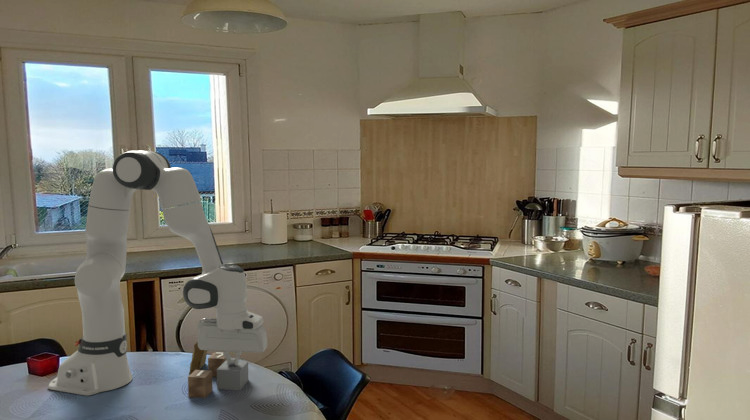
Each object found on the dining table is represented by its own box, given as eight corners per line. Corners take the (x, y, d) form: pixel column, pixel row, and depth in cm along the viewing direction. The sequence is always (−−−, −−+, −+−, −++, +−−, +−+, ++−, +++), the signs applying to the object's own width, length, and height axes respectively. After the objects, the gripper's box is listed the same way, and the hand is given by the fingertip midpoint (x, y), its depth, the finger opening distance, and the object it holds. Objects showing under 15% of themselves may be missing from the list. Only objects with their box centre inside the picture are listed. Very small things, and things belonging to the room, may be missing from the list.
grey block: (217, 389, 158) (216, 369, 158) (226, 379, 165) (225, 360, 164) (240, 390, 158) (240, 370, 157) (248, 380, 164) (248, 361, 164)
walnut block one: (188, 397, 153) (187, 376, 152) (196, 389, 158) (195, 369, 157) (205, 398, 152) (205, 377, 152) (212, 390, 157) (212, 369, 157)
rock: (200, 371, 165) (221, 355, 174) (184, 348, 166) (206, 334, 174) (181, 385, 170) (202, 369, 179) (166, 363, 170) (188, 348, 179)
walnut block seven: (208, 376, 167) (207, 357, 166) (214, 370, 172) (214, 351, 171) (224, 377, 166) (223, 358, 166) (230, 371, 171) (229, 352, 170)
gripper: (193, 321, 157) (194, 367, 159) (262, 324, 155) (262, 370, 157) (202, 314, 163) (203, 359, 165) (268, 317, 161) (268, 362, 163)
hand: (232, 364), depth 161 cm, fingers closed
